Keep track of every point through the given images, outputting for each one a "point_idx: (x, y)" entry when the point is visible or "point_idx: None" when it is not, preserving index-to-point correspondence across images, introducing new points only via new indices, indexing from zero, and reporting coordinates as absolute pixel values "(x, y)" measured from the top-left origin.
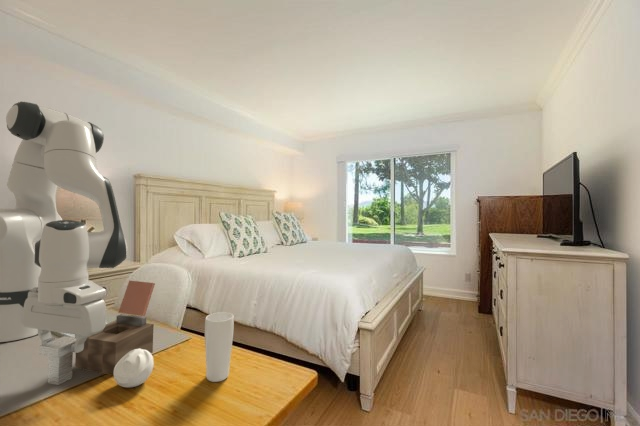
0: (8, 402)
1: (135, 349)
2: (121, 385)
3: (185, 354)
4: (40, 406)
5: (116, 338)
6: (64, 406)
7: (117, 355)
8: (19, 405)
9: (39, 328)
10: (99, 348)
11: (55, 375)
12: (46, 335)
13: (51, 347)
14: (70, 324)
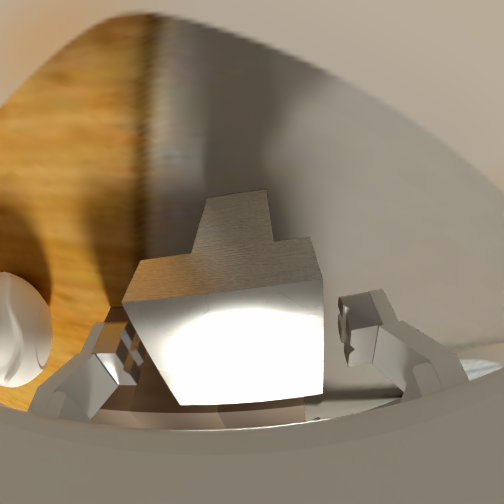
0: (251, 48)
1: (6, 381)
2: (1, 272)
3: None
4: (103, 98)
5: (112, 425)
6: (43, 145)
7: None
8: (182, 58)
9: (429, 403)
10: (156, 378)
11: (222, 213)
12: (397, 362)
13: (191, 297)
14: (24, 484)
